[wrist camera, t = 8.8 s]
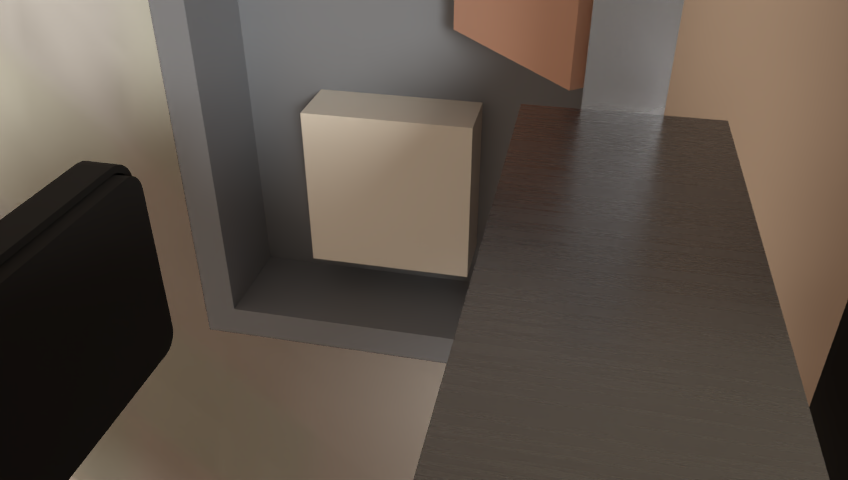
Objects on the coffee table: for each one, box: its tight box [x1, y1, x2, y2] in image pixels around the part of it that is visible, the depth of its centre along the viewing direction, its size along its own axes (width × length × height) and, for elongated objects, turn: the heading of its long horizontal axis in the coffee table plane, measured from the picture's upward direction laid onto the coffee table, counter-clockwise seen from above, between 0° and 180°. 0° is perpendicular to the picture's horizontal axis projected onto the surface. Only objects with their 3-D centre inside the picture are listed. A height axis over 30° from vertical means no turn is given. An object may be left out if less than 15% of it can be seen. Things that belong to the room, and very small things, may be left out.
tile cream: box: [300, 89, 483, 277], centre depth 19 cm, size 4×4×2 cm
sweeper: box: [414, 0, 830, 480], centre depth 10 cm, size 3×12×10 cm, turn 0°
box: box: [148, 0, 583, 363], centre depth 17 cm, size 10×14×3 cm
